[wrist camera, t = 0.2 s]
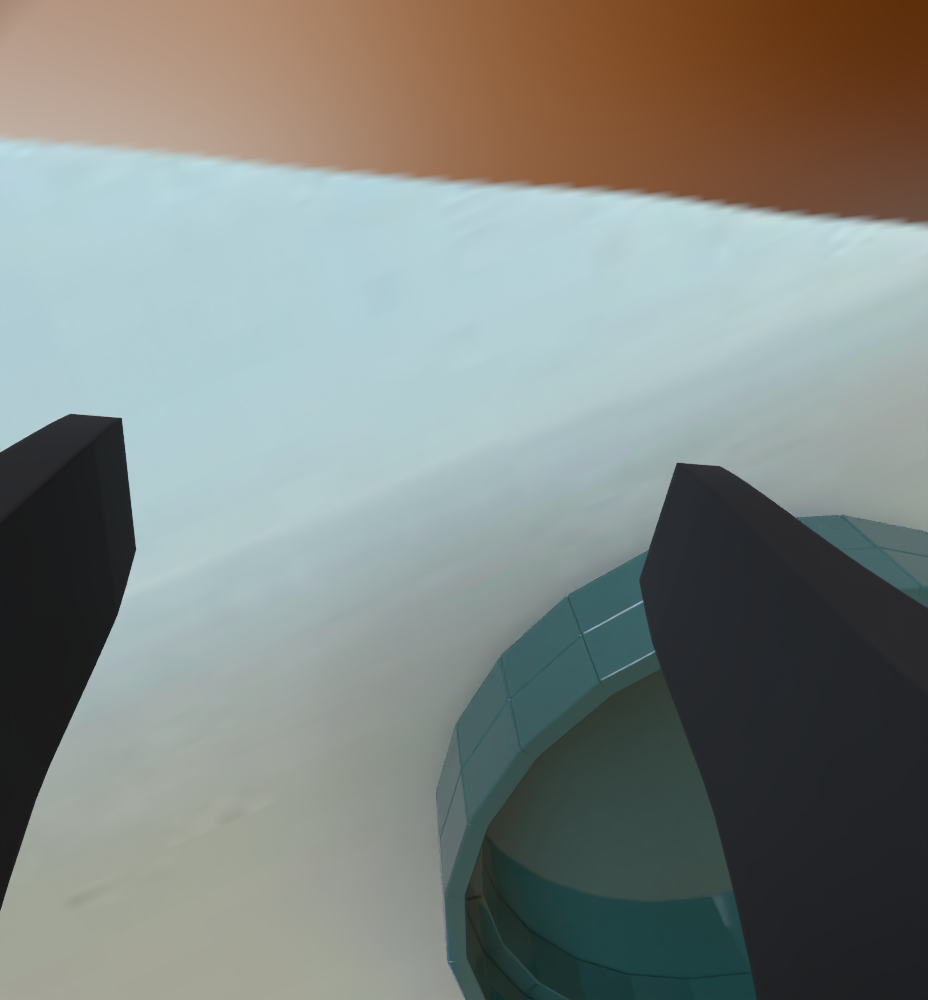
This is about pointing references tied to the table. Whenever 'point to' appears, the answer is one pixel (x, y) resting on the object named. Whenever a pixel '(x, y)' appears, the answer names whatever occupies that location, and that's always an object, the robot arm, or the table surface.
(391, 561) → the table surface
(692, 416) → the table surface
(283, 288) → the table surface
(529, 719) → the teal bowl
